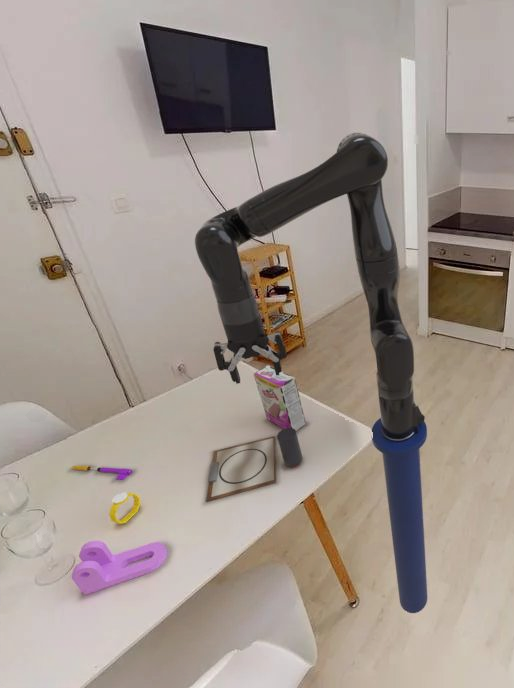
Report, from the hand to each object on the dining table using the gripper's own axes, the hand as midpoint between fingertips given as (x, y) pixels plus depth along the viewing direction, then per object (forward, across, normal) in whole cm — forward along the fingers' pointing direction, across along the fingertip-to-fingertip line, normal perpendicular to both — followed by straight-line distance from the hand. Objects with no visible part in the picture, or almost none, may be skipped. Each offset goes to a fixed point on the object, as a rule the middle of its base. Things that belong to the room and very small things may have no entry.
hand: (258, 377), depth 94 cm
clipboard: (+23, -8, -3) cm, 25 cm away
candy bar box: (+23, +2, +10) cm, 25 cm away
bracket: (+23, -29, -22) cm, 43 cm away
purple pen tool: (+23, -42, +8) cm, 49 cm away
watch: (+23, -32, -9) cm, 40 cm away
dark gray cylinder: (+23, +3, -6) cm, 24 cm away
